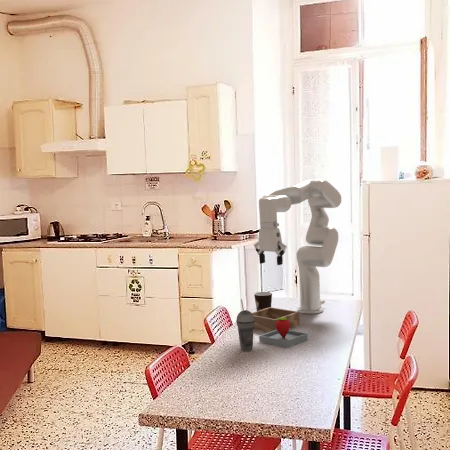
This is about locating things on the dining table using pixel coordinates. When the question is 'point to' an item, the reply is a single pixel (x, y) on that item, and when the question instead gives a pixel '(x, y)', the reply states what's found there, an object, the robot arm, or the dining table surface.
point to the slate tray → (286, 342)
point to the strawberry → (283, 326)
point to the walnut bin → (274, 318)
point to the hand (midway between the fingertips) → (271, 263)
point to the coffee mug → (263, 300)
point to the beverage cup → (245, 329)
